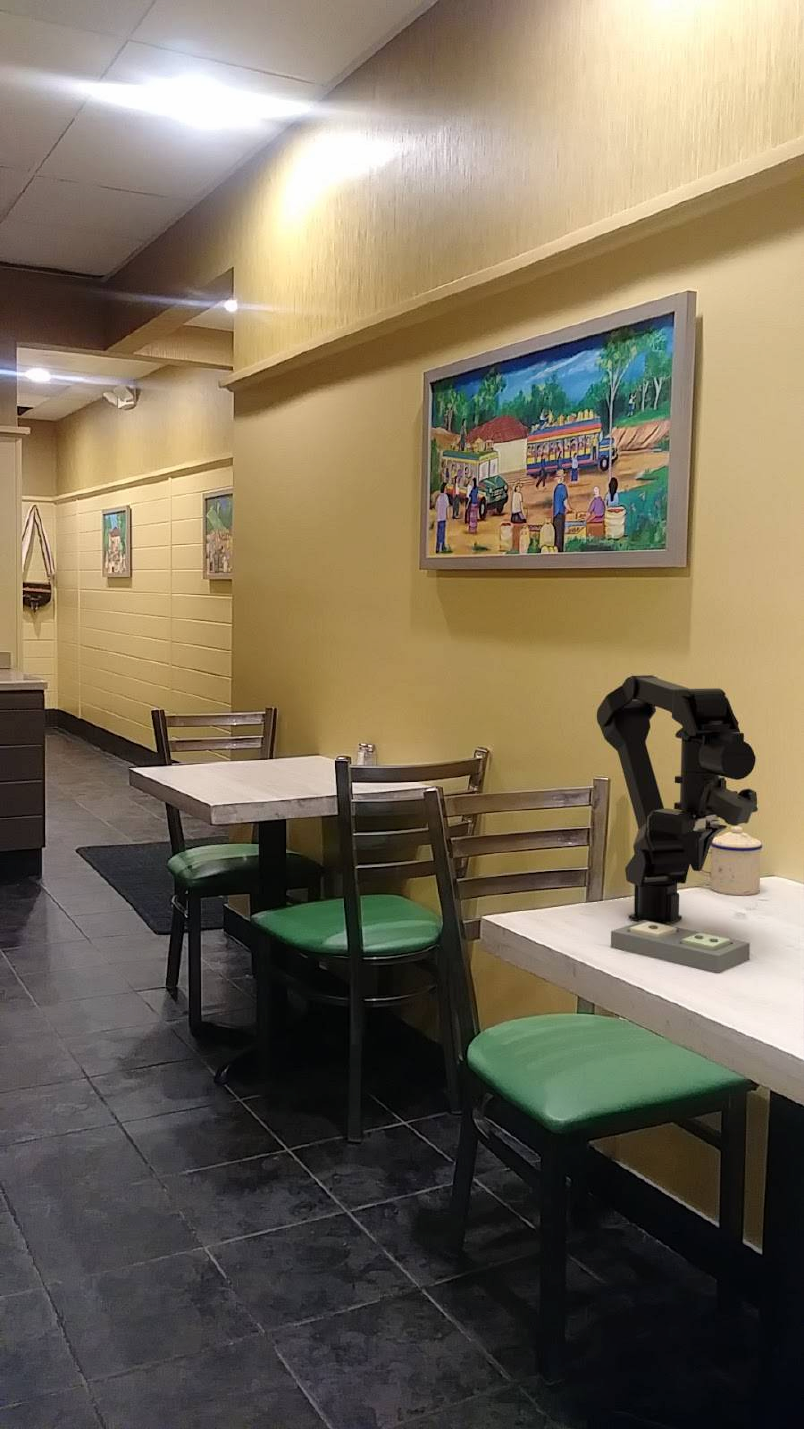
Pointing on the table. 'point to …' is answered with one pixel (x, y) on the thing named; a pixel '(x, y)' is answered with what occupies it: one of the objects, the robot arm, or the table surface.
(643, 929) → the cream tile one
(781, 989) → the table surface
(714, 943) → the sage tile two
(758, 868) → the teacup with lid
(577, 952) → the table surface
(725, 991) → the table surface
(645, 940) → the panel
